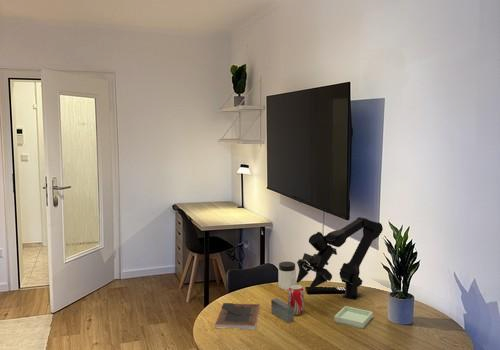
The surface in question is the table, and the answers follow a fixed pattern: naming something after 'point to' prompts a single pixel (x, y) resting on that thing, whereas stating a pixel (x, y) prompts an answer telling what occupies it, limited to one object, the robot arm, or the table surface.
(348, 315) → the tray
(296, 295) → the soda can
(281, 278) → the jar
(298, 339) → the table surface
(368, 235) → the robot arm
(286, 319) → the grey rectangular block
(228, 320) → the picture frame
